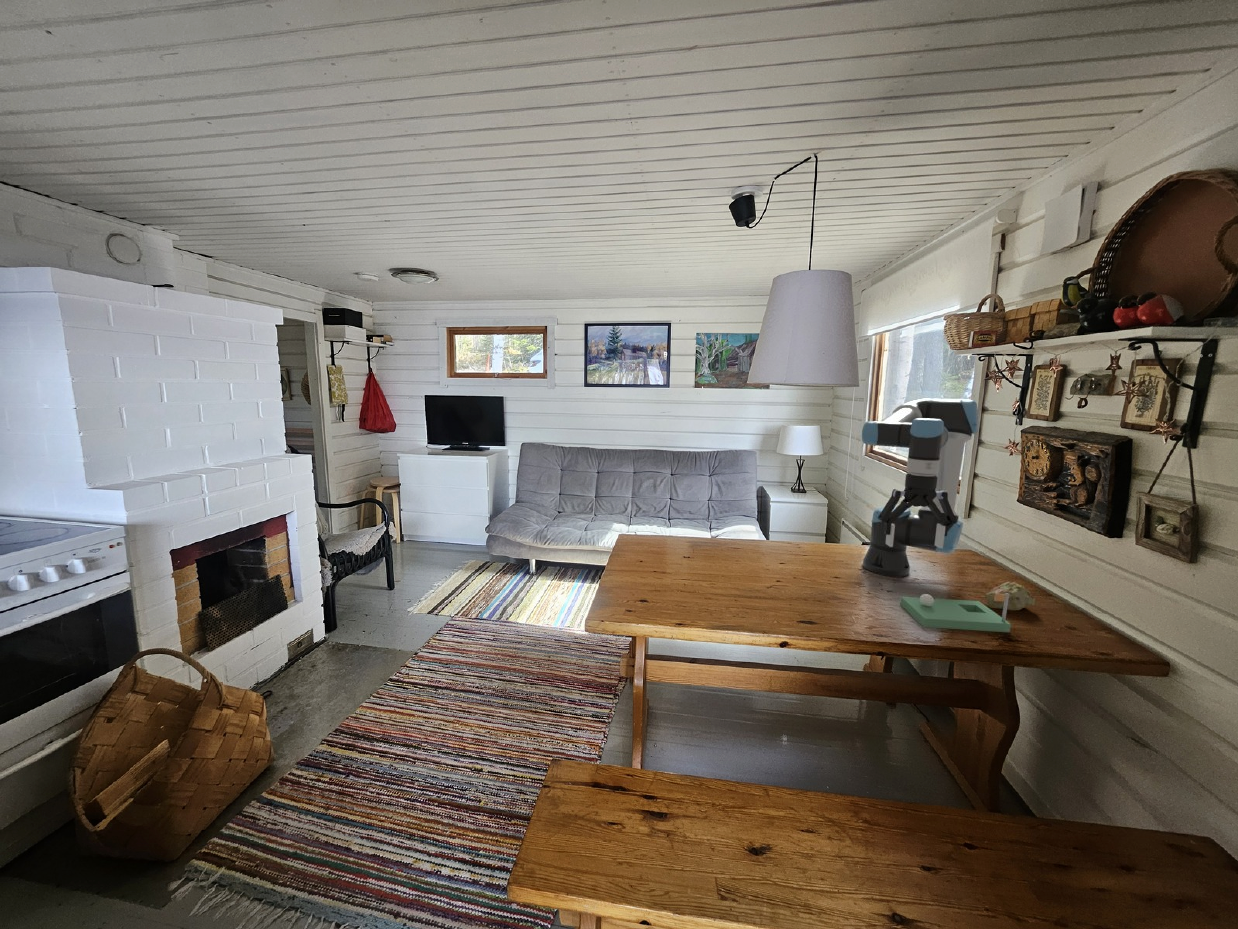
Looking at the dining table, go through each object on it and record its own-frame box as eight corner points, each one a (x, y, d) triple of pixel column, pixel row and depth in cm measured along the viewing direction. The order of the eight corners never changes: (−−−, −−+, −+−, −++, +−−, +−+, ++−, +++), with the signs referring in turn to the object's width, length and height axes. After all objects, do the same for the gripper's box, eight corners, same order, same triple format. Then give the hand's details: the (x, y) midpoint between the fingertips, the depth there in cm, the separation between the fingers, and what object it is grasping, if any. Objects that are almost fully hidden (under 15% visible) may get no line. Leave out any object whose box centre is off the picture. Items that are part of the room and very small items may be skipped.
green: (900, 604, 144) (903, 572, 142) (977, 608, 141) (981, 576, 139) (923, 626, 130) (927, 591, 128) (1009, 632, 127) (1015, 596, 125)
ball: (916, 602, 139) (918, 591, 139) (929, 603, 139) (930, 592, 138) (922, 608, 136) (924, 596, 135) (935, 608, 135) (937, 597, 135)
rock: (996, 623, 142) (987, 597, 140) (982, 605, 150) (972, 581, 148) (1041, 613, 138) (1032, 586, 136) (1024, 595, 146) (1015, 569, 144)
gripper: (881, 475, 127) (874, 549, 131) (977, 477, 125) (968, 552, 129) (869, 470, 135) (863, 540, 138) (960, 472, 133) (951, 543, 136)
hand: (913, 546), depth 133 cm, fingers open, 13 cm apart
